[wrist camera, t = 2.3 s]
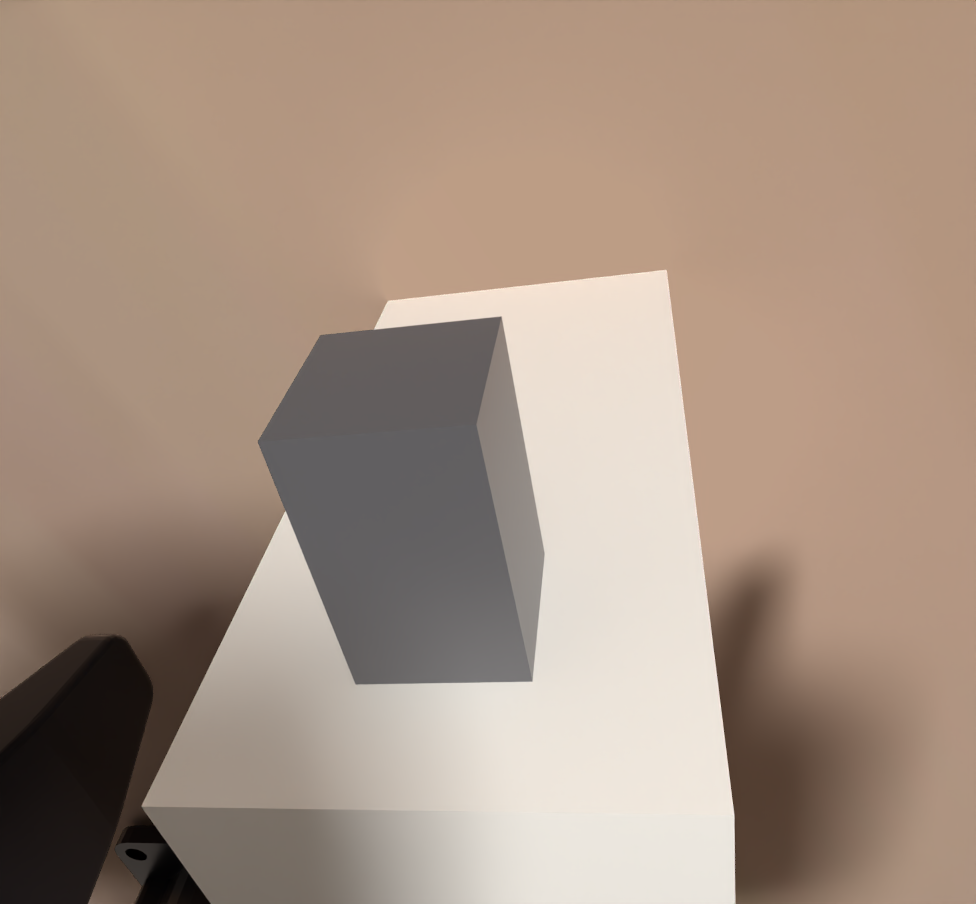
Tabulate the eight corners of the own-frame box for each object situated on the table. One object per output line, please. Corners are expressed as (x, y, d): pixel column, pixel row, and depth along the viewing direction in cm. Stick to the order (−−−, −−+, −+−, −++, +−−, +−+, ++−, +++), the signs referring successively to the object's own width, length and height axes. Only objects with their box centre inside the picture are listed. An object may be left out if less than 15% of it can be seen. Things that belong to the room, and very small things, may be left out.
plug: (455, 558, 13) (340, 1085, 8) (345, 142, 10) (-28, 567, 4) (681, 547, 13) (737, 1118, 7) (657, 95, 9) (731, 530, 3)
